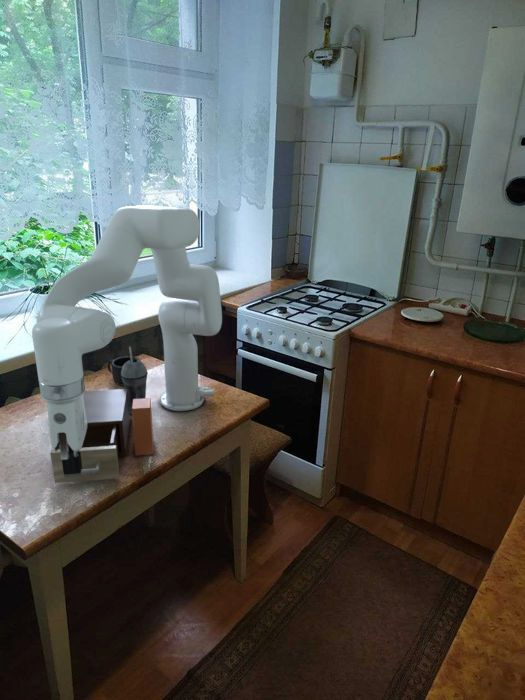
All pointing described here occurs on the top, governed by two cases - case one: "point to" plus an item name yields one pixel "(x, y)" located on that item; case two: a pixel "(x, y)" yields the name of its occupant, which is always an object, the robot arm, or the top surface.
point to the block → (142, 426)
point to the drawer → (93, 456)
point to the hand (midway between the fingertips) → (73, 471)
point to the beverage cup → (134, 379)
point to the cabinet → (109, 411)
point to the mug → (119, 368)
